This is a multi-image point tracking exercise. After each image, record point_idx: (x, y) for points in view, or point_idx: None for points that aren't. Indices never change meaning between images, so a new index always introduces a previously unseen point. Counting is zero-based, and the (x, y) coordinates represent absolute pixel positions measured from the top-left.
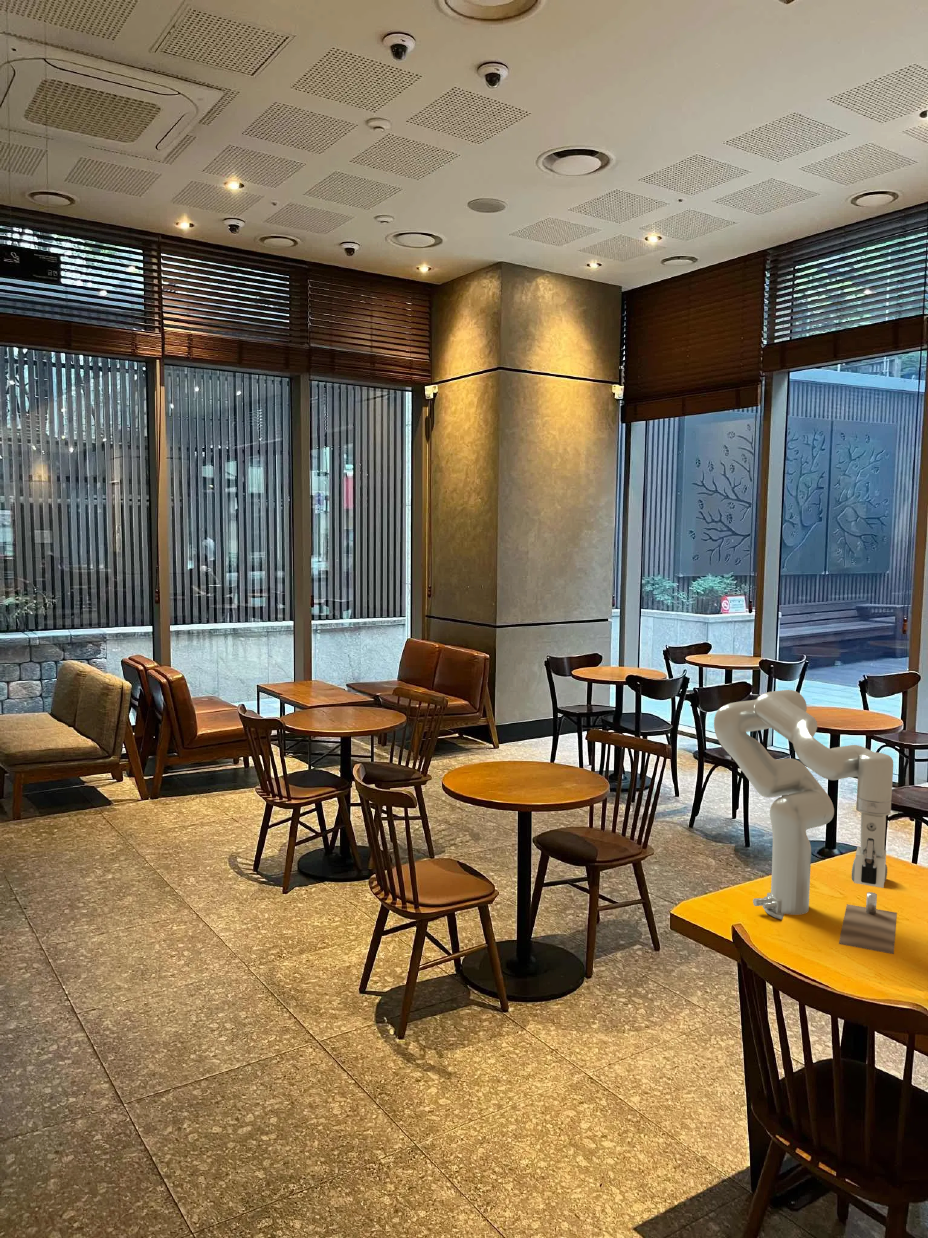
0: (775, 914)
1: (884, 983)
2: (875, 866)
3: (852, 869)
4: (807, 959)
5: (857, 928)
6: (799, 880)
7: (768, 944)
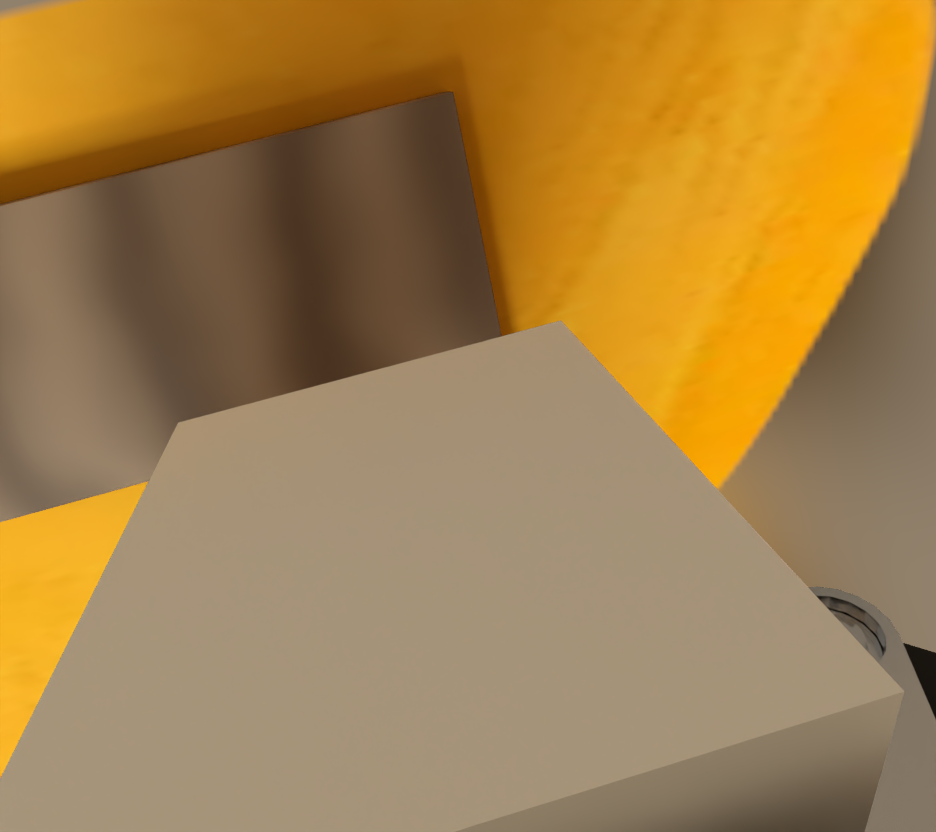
0: None
1: (764, 53)
2: (890, 627)
3: None
4: (672, 424)
5: (243, 380)
6: None
7: None
